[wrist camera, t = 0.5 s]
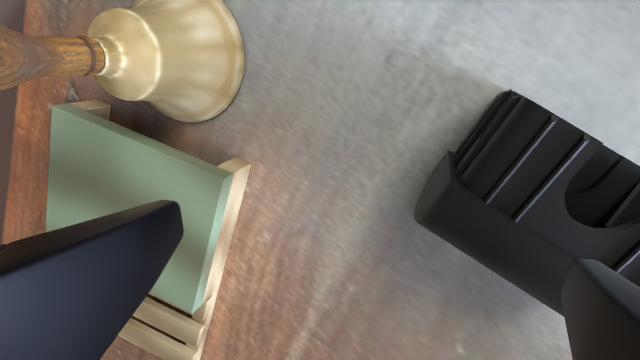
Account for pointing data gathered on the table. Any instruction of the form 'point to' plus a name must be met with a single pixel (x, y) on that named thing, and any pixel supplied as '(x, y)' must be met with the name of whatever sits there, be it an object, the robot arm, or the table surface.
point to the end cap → (535, 199)
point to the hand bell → (143, 56)
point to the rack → (142, 188)
